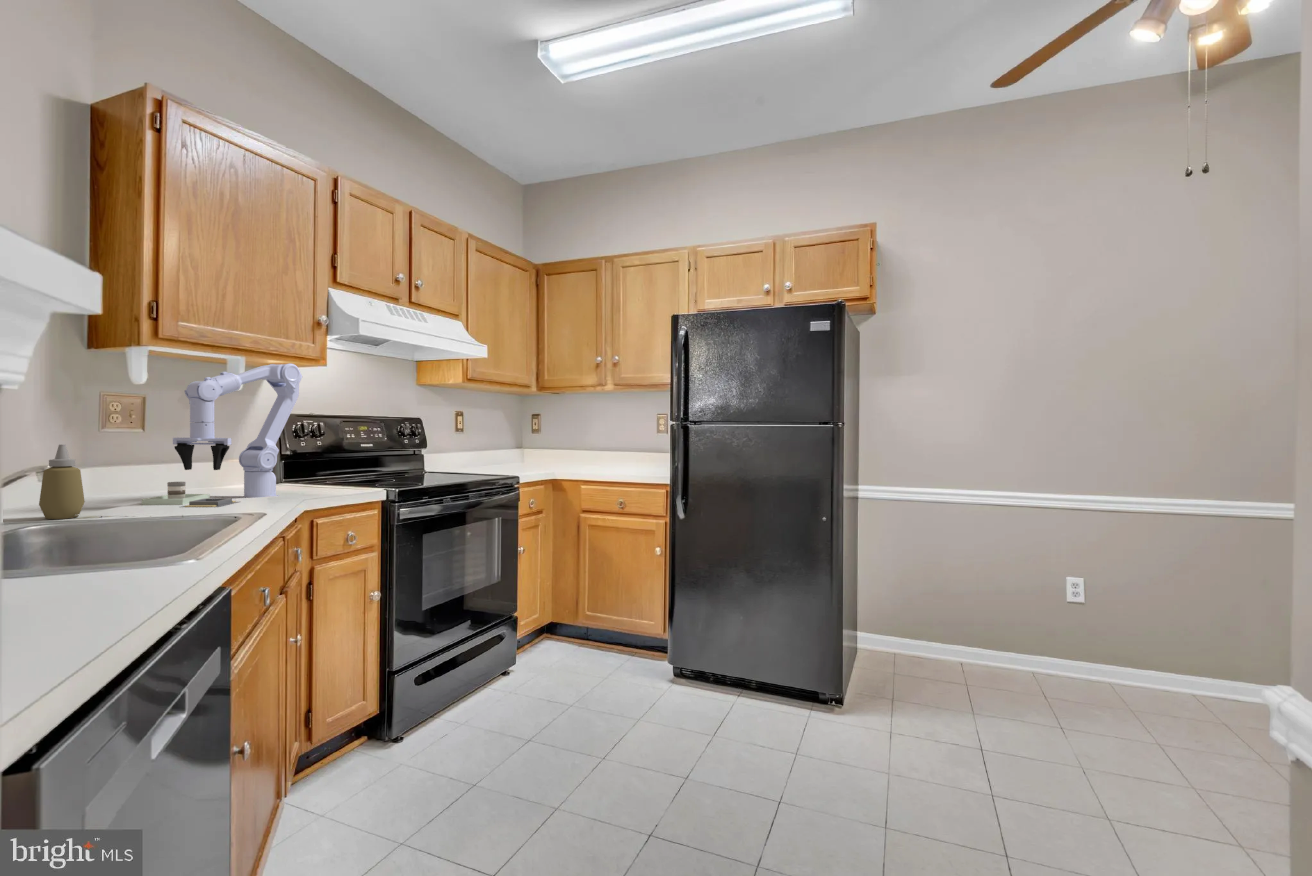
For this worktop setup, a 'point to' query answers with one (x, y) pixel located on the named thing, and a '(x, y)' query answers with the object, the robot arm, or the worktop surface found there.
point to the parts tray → (165, 501)
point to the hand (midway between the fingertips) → (202, 469)
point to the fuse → (176, 490)
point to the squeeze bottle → (61, 488)
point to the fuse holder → (211, 502)
